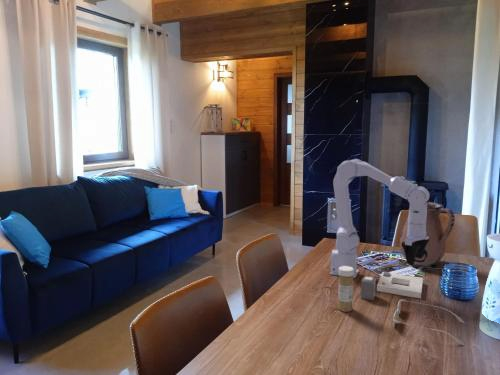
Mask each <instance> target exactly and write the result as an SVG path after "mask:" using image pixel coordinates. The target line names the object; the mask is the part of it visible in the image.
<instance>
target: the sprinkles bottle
mask: <svg viewBox="0 0 500 375" xmlns="http://www.w3.org/2000/svg"><path fill="white" fill-rule="evenodd" d="M353 276H354V269H353V268H352V267H350V266H341V267H339V275H338V293H337V294H338V297H337V300H338V302H337V304H338V305H337V308H338V310H339V311H342V312H345V313H346V312H347V313H348V312H351V311H352V310H353V300H354V299H353V298H354V278H353Z"/></svg>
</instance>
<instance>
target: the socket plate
mask: <svg viewBox="0 0 500 375" xmlns="http://www.w3.org/2000/svg"><path fill="white" fill-rule="evenodd" d="M423 281H424V277H418V276H412V275H406V274H399V273H391V272H390V271H389V272H388V271H382V272H381V275H380V278H379V280H378V282H377V284H376V292H380V293H387V294H391V295H392V294H393V295H398V296H405V297H409V298H416V299H417V298H418V299H422V293H423V292H422V291H423V283H424V282H423Z"/></svg>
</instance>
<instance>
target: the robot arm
mask: <svg viewBox="0 0 500 375" xmlns="http://www.w3.org/2000/svg"><path fill="white" fill-rule="evenodd" d="M336 168H337V169H336V173H335V175H334V178H333V182H332V183H333V184H332V186H333V193H334V198H335V200H334V201H335V207H336V214H337V216H336V217H337V223H338V229H337V232H336V240H335V249H334V248H333V249H332V250H331V256H330V273H329V274H330V275H334V276H339V267H341V266H350V267H352V268H353V269H354V276H353V279H355V278H356V277H357V275H358V273H359V269H357V262H358V261H357V260H358V250H357V247H358V245H359V244H360V236H359V235H358V233H357V229H356V227H355V226H354V223H353V215H352V207H351V200H350V192H349V191H350V190H349V184H350V183H351V182H352V181H353V180H354V179H355V178H357V177H365V176H367V177H369V178H371V179H373V180H375V181H378V182H380V183H382V184H384V185H386V186H387V188H388V191H390V192H392V193H393V194H396V195H397V196H399V197H401V198H402V199H404V200H407V202H408V204H409V208H408V215H409V216H408V215H407V217H408V232H407V237H406V239H405V242H402V247H403V249H404V251H405V255H406V259H405V260H406V264H409V265H414V262H415V257H416V258H420V259H421V258H422V256H423V253H424V250H425V247H426V245H427V243H428V242H429V240H430V239H429V237H428V236H426V219H427V203H425V202H429V199H430V192H429V190H428V189H427V188H425V187H424V186H418V184H417V183H412V182H410V181H408V180H406V177H404V176H397V175H395V176H394V177H393V176H390V175H389V174H387V173H385V172H384V171H382V170H381V169H379V168H377V167H376V166H373V165H372V164H370V163H368V162H367V161H362V160H361V159H359V158H354V159H349V160H344V161H342V162H341V163H340V164H339V165H338V166H337V167H336Z"/></svg>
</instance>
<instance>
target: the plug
mask: <svg viewBox="0 0 500 375" xmlns="http://www.w3.org/2000/svg"><path fill="white" fill-rule="evenodd" d="M376 282H377V278H374V277H372V276H363V277H362V279H361V282H360V284H361V286H360V299H364V300H367V301H374V299H375V297H376V287H377V284H376Z"/></svg>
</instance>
